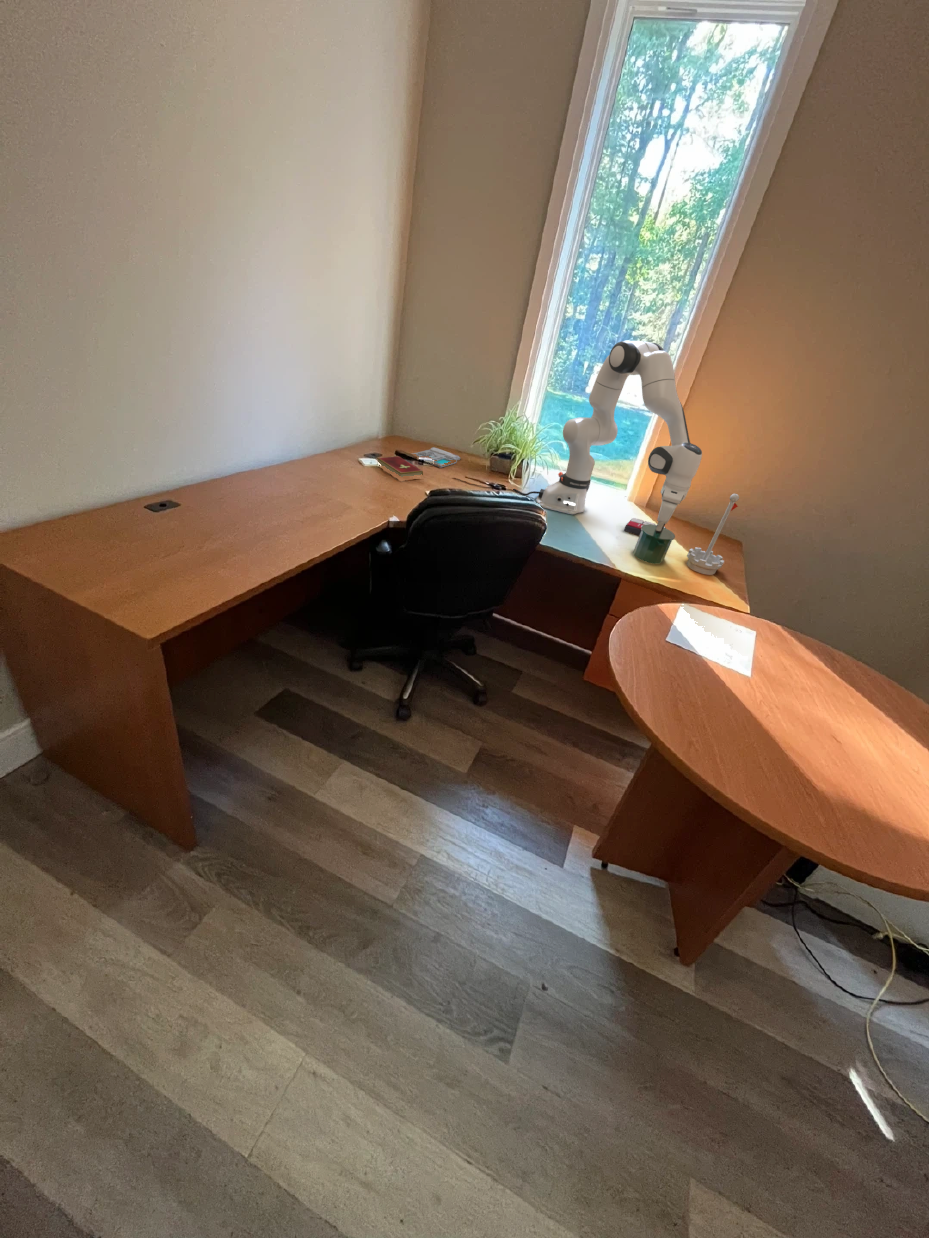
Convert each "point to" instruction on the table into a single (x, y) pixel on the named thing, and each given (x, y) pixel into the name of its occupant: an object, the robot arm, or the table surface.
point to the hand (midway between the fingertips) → (659, 526)
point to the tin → (651, 549)
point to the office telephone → (439, 456)
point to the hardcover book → (399, 466)
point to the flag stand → (710, 548)
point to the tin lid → (658, 532)
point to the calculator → (636, 526)
